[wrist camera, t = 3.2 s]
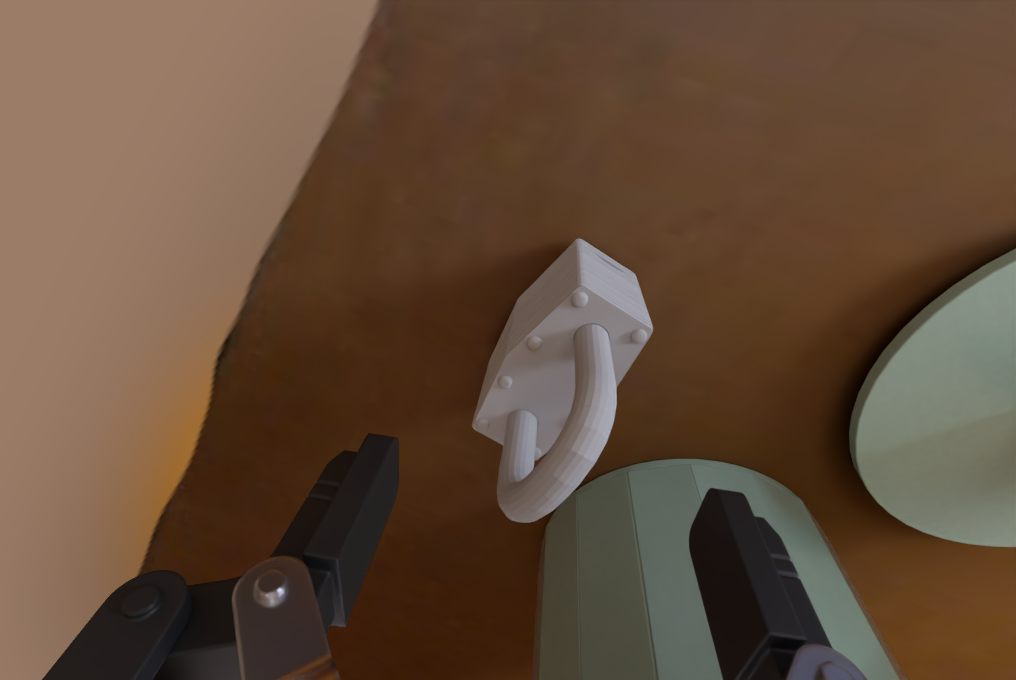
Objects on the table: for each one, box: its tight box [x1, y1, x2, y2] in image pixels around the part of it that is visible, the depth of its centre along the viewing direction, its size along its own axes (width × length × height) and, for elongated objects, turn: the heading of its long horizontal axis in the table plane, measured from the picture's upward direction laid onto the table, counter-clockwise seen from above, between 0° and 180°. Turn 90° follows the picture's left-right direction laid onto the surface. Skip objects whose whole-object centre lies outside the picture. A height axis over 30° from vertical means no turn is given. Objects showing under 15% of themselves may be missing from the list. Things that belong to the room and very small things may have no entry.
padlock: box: [472, 239, 653, 523], centre depth 16 cm, size 7×4×10 cm, turn 149°
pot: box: [532, 459, 906, 680], centre depth 22 cm, size 15×15×12 cm
